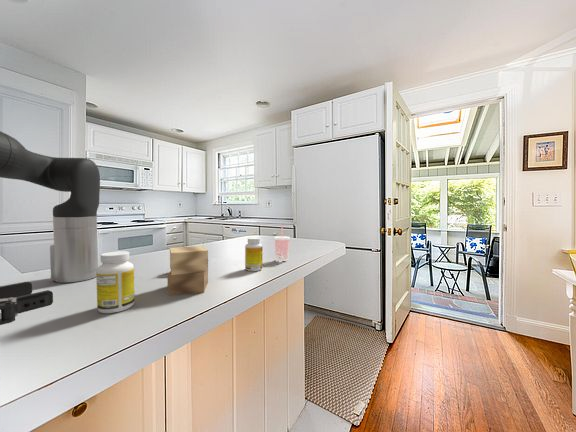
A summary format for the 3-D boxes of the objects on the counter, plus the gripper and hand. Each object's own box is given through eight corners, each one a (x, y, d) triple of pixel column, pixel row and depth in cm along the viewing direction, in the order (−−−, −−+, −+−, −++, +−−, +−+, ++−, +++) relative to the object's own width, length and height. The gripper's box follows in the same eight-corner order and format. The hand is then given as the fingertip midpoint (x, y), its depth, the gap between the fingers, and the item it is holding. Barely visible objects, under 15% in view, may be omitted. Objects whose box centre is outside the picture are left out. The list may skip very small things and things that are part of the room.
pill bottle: (130, 299, 54) (129, 249, 54) (138, 307, 50) (137, 253, 49) (94, 307, 50) (93, 253, 49) (100, 317, 45) (99, 257, 45)
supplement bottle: (264, 271, 79) (264, 238, 78) (246, 272, 77) (246, 239, 76) (260, 266, 84) (260, 236, 83) (243, 268, 82) (243, 237, 82)
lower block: (167, 295, 57) (167, 274, 57) (176, 284, 65) (175, 265, 65) (204, 293, 59) (203, 272, 59) (208, 283, 67) (207, 264, 66)
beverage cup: (285, 263, 89) (285, 224, 89) (270, 261, 92) (270, 223, 91) (292, 260, 95) (292, 223, 94) (278, 258, 98) (278, 222, 97)
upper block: (171, 275, 56) (171, 253, 56) (170, 267, 63) (169, 247, 63) (208, 271, 60) (207, 250, 60) (202, 264, 67) (202, 245, 67)
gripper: (-175, 318, 22) (59, 275, 36) (-172, 291, 29) (24, 263, 43) (-170, 400, 22) (61, 325, 37) (-168, 353, 29) (25, 306, 43)
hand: (41, 292), depth 40 cm, fingers open, 8 cm apart
